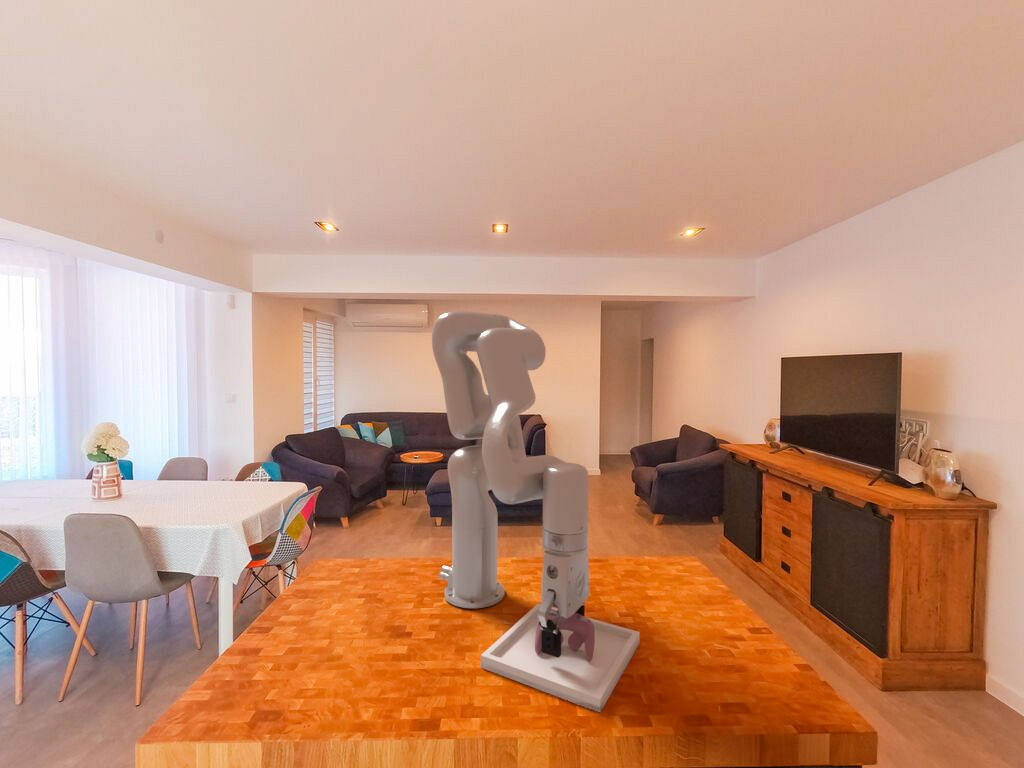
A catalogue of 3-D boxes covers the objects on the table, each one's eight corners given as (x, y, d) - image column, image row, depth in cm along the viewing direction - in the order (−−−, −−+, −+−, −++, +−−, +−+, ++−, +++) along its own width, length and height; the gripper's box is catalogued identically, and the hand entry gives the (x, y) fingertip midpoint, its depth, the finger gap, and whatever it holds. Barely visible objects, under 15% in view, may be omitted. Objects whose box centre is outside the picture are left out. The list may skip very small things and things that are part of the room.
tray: (480, 667, 77) (480, 655, 77) (537, 613, 95) (537, 603, 95) (600, 713, 67) (600, 698, 67) (639, 643, 85) (639, 632, 85)
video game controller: (594, 660, 81) (596, 614, 83) (592, 663, 77) (595, 614, 79) (536, 651, 83) (540, 607, 86) (531, 653, 79) (536, 606, 82)
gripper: (564, 560, 71) (563, 675, 72) (604, 527, 86) (602, 622, 86) (519, 550, 75) (519, 659, 75) (565, 520, 90) (564, 611, 90)
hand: (563, 639), depth 81 cm, fingers open, 9 cm apart
